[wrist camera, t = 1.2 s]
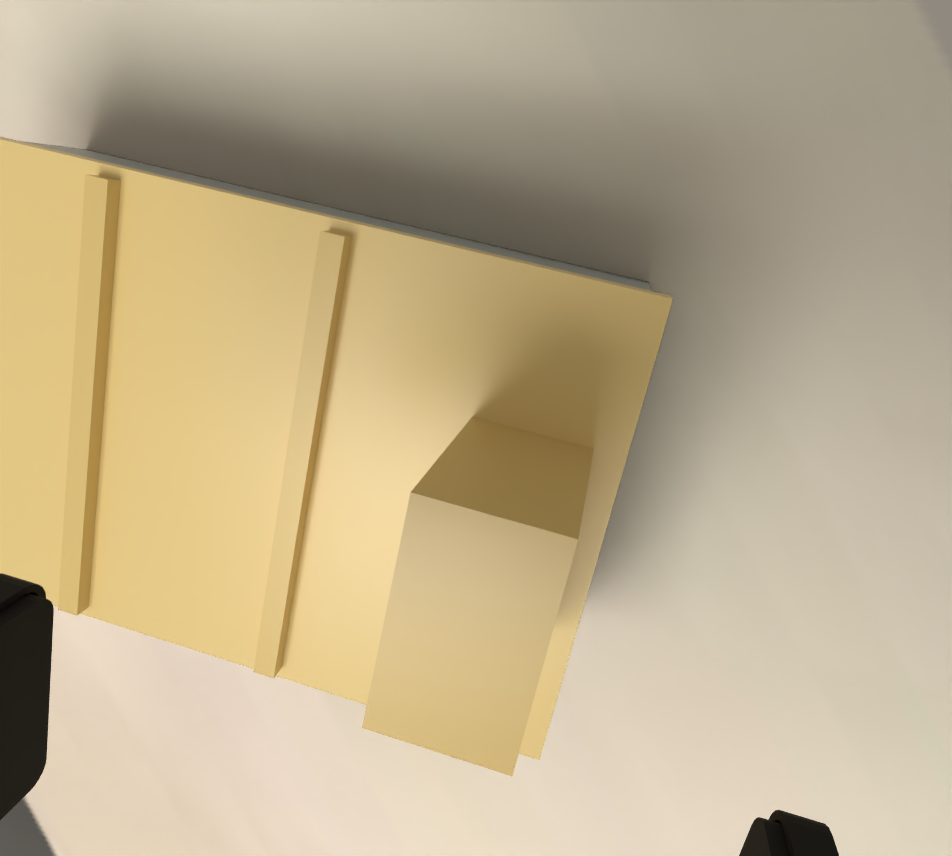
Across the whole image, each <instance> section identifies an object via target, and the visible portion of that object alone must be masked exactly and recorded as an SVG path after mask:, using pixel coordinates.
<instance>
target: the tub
mask: <svg viewBox="0 0 952 856" xmlns="http://www.w3.org/2000/svg"><path fill="white" fill-rule="evenodd" d="M21 142H23V141H21ZM25 143H29V144H33V145H38V146H42V147H46V148H50V149H54V150H59V151H63V152H67V153H71V154H76V155H80V156H84V157H88V158H92V159H97V160H101V161H105V162H109V163H114V164H118V165H122V166H126V167H130V168H135V169H139V170H143V171H147V172H152V173H156V174H160V175H164V176H168V177H173V178H177V179H181V180H185V181H190V182H194V183H198V184H202V185H206V186H211V187H215V188H219V189H223V190H228V191H232V192H236V193H240V194H244V195H249V196H253V197H257V198H261V199H266V200H270V201H274V202H278V203H282V204H287V205H291V206H295V207H299V208H304V209H308V210H312V211H316V212H320V213H325V214H329V215H333V216H337V217H342V218H346V219H350V220H354V221H358V222H363V223H367V224H371V225H375V226H380V227H384V228H388V229H392V230H396V231H401V232H405V233H409V234H413V235H418V236H422V237H426V238H430V239H434V240H439V241H443V242H447V243H451V244H456V245H460V246H464V247H468V248H472V249H477V250H481V251H485V252H489V253H494V254H498V255H502V256H506V257H510V258H515V259H519V260H523V261H527V262H532V263H536V264H540V265H544V266H548V267H553V268H557V269H561V270H565V271H570V272H574V273H578V274H582V275H586V276H591V277H595V278H599V279H603V280H608V281H612V282H616V283H620V284H624V285H629V286H633V287H637V288H641V289H646V290H650V291H651V288H650V284H649V282H645V281H641V280H637V279H633V278H628V277H624V276H620V275H616V274H611V273H607V272H603V271H599V270H594V269H590V268H586V267H582V266H577V265H573V264H569V263H565V262H561V261H556V260H552V259H548V258H544V257H539V256H535V255H531V254H527V253H522V252H518V251H514V250H510V249H505V248H501V247H497V246H493V245H488V244H484V243H480V242H476V241H471V240H467V239H463V238H459V237H454V236H450V235H446V234H442V233H437V232H433V231H429V230H425V229H420V228H416V227H412V226H408V225H403V224H399V223H395V222H391V221H386V220H382V219H378V218H374V217H369V216H365V215H361V214H357V213H352V212H348V211H344V210H340V209H336V208H331V207H327V206H323V205H319V204H314V203H310V202H306V201H302V200H297V199H293V198H289V197H285V196H280V195H276V194H272V193H268V192H263V191H259V190H255V189H251V188H246V187H242V186H238V185H234V184H229V183H225V182H221V181H217V180H212V179H208V178H204V177H200V176H195V175H191V174H187V173H183V172H178V171H174V170H170V169H166V168H161V167H157V166H153V165H149V164H144V163H140V162H136V161H132V160H127V159H123V158H119V157H115V156H110V155H106V154H102V153H98V152H94V151H89V150H85V149H77V148H70V147H62V146H54V145H46V144H38V143H31V142H25Z"/></svg>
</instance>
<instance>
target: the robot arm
mask: <svg viewBox="0 0 952 856" xmlns="http://www.w3.org/2000/svg"><path fill="white" fill-rule="evenodd" d="M52 632H53V604H52V602H51V601H50V600H48V599H46V592H45V590H44V588H43V587H42V586H40V585H39V584H36V583H32V582H29V581H26V580H22V579H19V578H16V577H13V576H9V575H6V574H3V573H0V820H1V819H2V818H3V817H4V816H5V815H6V814H7V813H8V812H9V811H10V810H11V809H12V808H13V807H14V806H15V805H16V804H17V803H18V802H19V801H20V800H21V799H22V798H23V797H24V796H25V795H26V794H27V793H28V792H29V791H30V790H31V789H32V788H33V787H34V786H35V784H36V783H37V781H38V780H39V778H40V776H41V774H42V772H43V770H44V767H45V764H46V756H47V736H48V715H49V694H50V673H51V653H52ZM739 856H839V854H838V851H837V848H836V845H835V842H834V839H833V836H832V833H831V831H830V829H829V827H828V826H826V825H825V824H824V823H820V822H817V821H814V820H810V819H807V818H804V817H801V816H797V815H794V814H791V813H787V812H784V811H781V810H775V811H774V812H773V813H772V814H771V816H770V818H769V820H767V819H763V818H756V819H755V820H754V822H753V824H752V826H751V828H750V831H749V833H748V835H747V838H746V840H745V843H744V845H743V848H742V850H741V853H740V855H739Z"/></svg>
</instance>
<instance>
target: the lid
mask: <svg viewBox="0 0 952 856" xmlns="http://www.w3.org/2000/svg"><path fill="white" fill-rule="evenodd" d="M672 301H673V298H672V296H671V295H667V294H662V293H658V292H654V291H650V290H646V289H641V288H637V287H633V286H629V285H624V284H620V283H616V282H612V281H608V280H603V279H599V278H595V277H591V276H586V275H582V274H578V273H574V272H570V271H565V270H561V269H557V268H553V267H548V266H544V265H540V264H536V263H532V262H527V261H523V260H519V259H515V258H510V257H506V256H502V255H498V254H494V253H489V252H485V251H481V250H477V249H472V248H468V247H464V246H460V245H456V244H451V243H447V242H443V241H439V240H434V239H430V238H426V237H422V236H418V235H413V234H409V233H405V232H401V231H396V230H392V229H388V228H384V227H380V226H375V225H371V224H367V223H363V222H358V221H354V220H350V219H346V218H342V217H337V216H333V215H329V214H325V213H320V212H316V211H312V210H308V209H304V208H299V207H295V206H291V205H287V204H282V203H278V202H274V201H270V200H266V199H261V198H257V197H253V196H249V195H244V194H240V193H236V192H232V191H228V190H223V189H219V188H215V187H211V186H206V185H202V184H198V183H194V182H190V181H185V180H181V179H177V178H173V177H168V176H164V175H160V174H156V173H152V172H147V171H143V170H139V169H135V168H130V167H126V166H122V165H118V164H114V163H109V162H105V161H101V160H97V159H92V158H88V157H84V156H80V155H76V154H71V153H67V152H63V151H59V150H54V149H50V148H46V147H42V146H38V145H33V144H29V143H25V142H21V141H16V140H12V139H8V138H4V137H0V573H3V574H6V575H9V576H13V577H16V578H19V579H22V580H26V581H29V582H32V583H36V584H39V585H40V586H42V587H43V588H44V590H45V592H46V599H48V600H50V601H51V602H52V604H53V605H55V606H58V610H61V611H65V612H68V613H71V614H74V615H78V614H83V615H86V616H89V617H93V618H96V619H99V620H102V621H105V622H108V623H111V624H114V625H118V626H121V627H124V628H127V629H130V630H133V631H136V632H140V633H143V634H146V635H149V636H152V637H155V638H158V639H161V640H165V641H168V642H171V643H174V644H177V645H180V646H183V647H187V648H190V649H193V650H196V651H199V652H202V653H205V654H209V655H212V656H215V657H218V658H221V659H224V660H227V661H230V662H234V663H237V664H240V665H243V666H246V667H249V668H252V669H254V671H253V672H255V673H259V674H262V675H265V676H268V677H271V678H274V677H275V676H277V677H281V678H284V679H287V680H290V681H293V682H296V683H299V684H303V685H306V686H309V687H312V688H315V689H318V690H321V691H324V692H328V693H331V694H334V695H337V696H340V697H343V698H346V699H350V700H353V701H356V702H359V703H362V704H365V705H367V707H366V712H365V717H364V722H363V726H362V728H364V729H368V730H371V731H374V732H377V733H380V734H383V735H386V736H389V737H392V738H395V739H398V740H402V741H405V742H408V743H411V744H414V745H417V746H420V747H423V748H426V749H429V750H433V751H436V752H439V753H442V754H445V755H448V756H451V757H454V758H457V759H460V760H463V761H467V762H470V763H473V764H476V765H479V766H482V767H485V768H488V769H491V770H494V771H498V772H501V773H504V774H507V775H510V776H512V775H513V772H514V768H515V764H516V761H517V757H518V754H522V755H525V756H528V757H531V758H534V759H538V760H539V759H540V756H541V753H542V749H543V746H544V742H545V739H546V735H547V732H548V728H549V725H550V722H551V718H552V715H553V711H554V708H555V704H556V701H557V697H558V694H559V691H560V687H561V684H562V680H563V677H564V673H565V670H566V666H567V663H568V660H569V656H570V653H571V649H572V646H573V642H574V639H575V635H576V632H577V629H578V625H579V622H580V618H581V615H582V611H583V608H584V604H585V601H586V598H587V594H588V591H589V587H590V584H591V580H592V577H593V573H594V570H595V567H596V563H597V560H598V556H599V553H600V549H601V546H602V542H603V539H604V536H605V532H606V529H607V525H608V522H609V518H610V515H611V511H612V508H613V505H614V501H615V498H616V494H617V491H618V487H619V484H620V480H621V477H622V474H623V470H624V467H625V463H626V460H627V456H628V453H629V449H630V446H631V443H632V439H633V436H634V432H635V429H636V425H637V422H638V418H639V415H640V412H641V408H642V405H643V401H644V398H645V394H646V391H647V387H648V384H649V381H650V377H651V374H652V370H653V367H654V363H655V360H656V356H657V353H658V350H659V346H660V343H661V339H662V336H663V332H664V329H665V325H666V322H667V319H668V315H669V312H670V308H671V305H672Z"/></svg>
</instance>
